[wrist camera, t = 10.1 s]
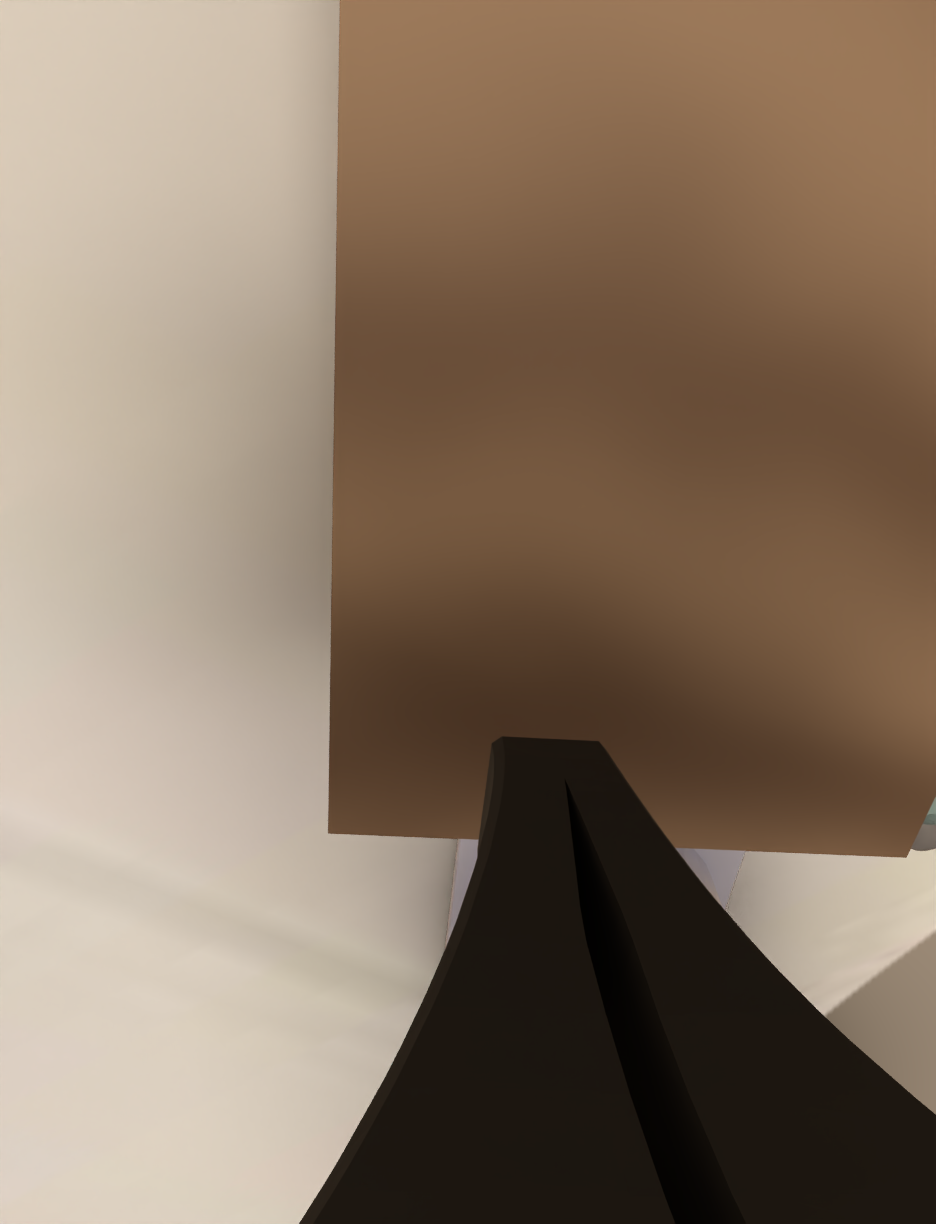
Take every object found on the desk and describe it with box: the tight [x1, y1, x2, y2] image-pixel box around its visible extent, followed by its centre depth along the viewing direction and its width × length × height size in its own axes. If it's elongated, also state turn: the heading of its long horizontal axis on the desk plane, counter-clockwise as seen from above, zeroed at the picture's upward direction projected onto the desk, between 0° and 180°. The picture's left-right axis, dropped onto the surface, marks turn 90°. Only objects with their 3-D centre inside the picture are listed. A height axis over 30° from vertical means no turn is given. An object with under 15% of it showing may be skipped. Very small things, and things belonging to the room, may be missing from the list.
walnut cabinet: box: [328, 0, 936, 858], centre depth 15 cm, size 16×11×6 cm
